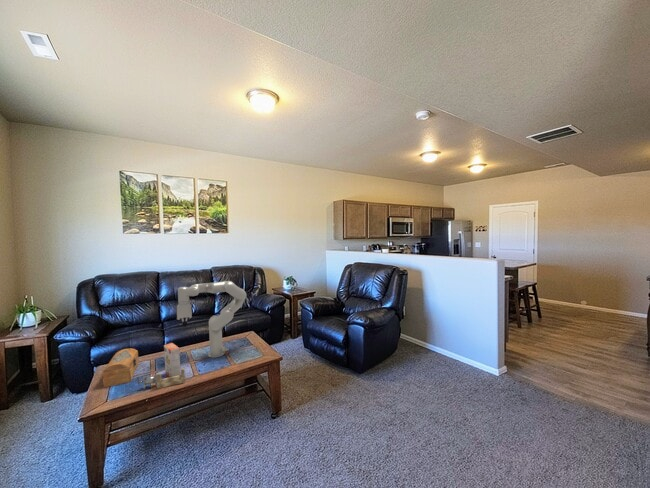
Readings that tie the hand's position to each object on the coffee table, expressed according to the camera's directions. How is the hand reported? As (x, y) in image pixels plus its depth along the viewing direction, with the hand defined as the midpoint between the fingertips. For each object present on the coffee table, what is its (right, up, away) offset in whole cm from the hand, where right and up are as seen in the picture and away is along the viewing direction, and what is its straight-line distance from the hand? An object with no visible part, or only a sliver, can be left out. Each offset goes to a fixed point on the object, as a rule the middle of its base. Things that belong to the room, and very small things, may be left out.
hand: (184, 326), depth 216 cm
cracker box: (+3, -28, -23) cm, 36 cm away
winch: (-5, -29, -37) cm, 47 cm away
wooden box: (-34, -29, -19) cm, 49 cm away
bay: (+7, -28, -31) cm, 43 cm away
